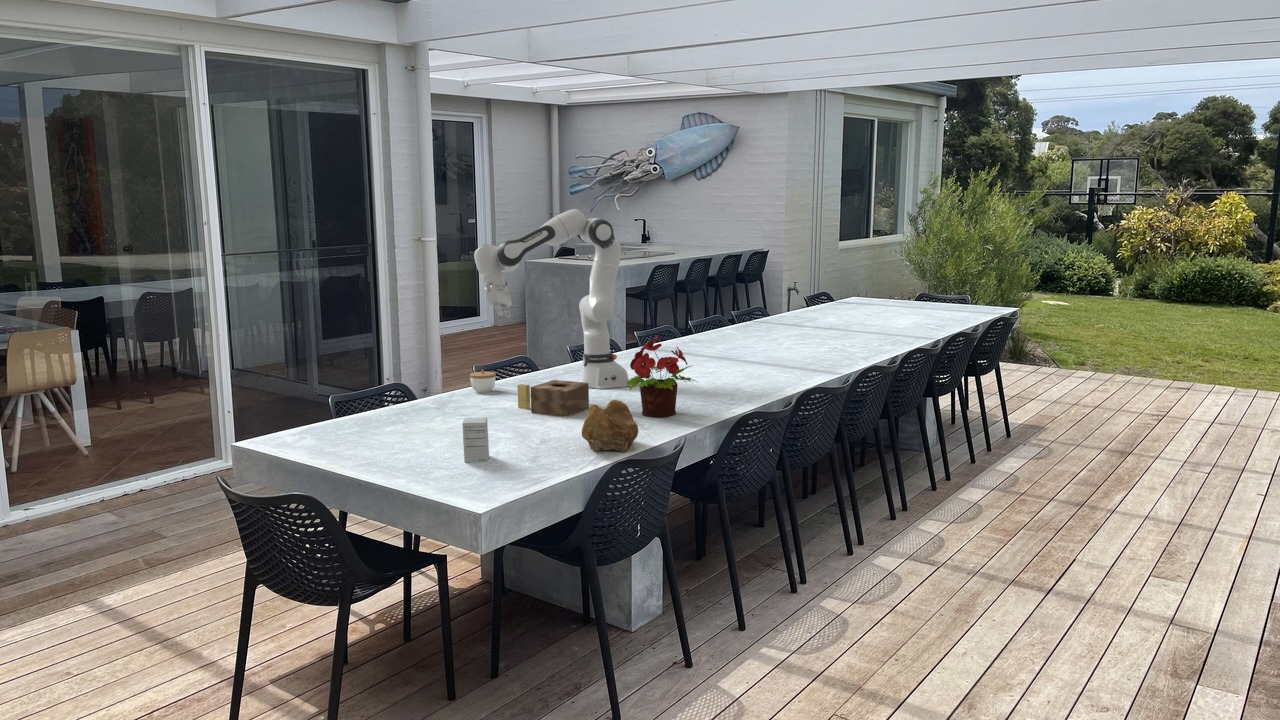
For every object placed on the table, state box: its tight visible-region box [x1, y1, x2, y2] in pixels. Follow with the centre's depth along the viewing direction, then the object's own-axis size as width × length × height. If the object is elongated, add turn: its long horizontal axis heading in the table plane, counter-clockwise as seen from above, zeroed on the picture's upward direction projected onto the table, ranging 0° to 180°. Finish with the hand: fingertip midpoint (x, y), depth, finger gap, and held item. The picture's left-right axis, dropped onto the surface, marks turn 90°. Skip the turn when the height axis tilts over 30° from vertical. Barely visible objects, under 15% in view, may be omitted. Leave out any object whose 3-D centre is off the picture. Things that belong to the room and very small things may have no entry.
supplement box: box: [462, 416, 490, 463], centre depth 298 cm, size 7×7×13 cm
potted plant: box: [626, 335, 700, 419], centre depth 352 cm, size 30×27×30 cm
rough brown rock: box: [581, 399, 639, 453], centre depth 308 cm, size 23×17×15 cm
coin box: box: [530, 379, 590, 418], centre depth 364 cm, size 16×16×10 cm
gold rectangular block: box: [516, 383, 531, 410], centre depth 371 cm, size 4×2×9 cm, turn 63°
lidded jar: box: [469, 369, 497, 394], centre depth 404 cm, size 11×11×9 cm
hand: (504, 316), depth 385 cm, fingers open, 8 cm apart
